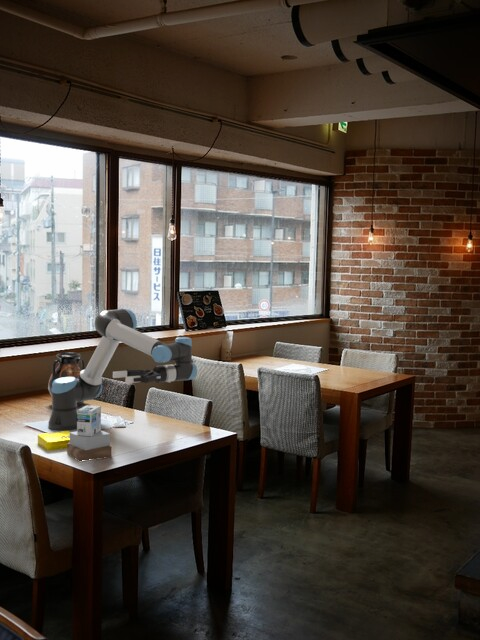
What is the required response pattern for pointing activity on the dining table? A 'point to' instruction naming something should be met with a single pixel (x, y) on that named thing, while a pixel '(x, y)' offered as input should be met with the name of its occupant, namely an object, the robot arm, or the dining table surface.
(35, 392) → the dining table surface
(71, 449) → the tower base
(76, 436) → the tower top
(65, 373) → the amphora vase
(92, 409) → the light bulb box
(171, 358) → the robot arm
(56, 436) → the element tile
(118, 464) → the dining table surface
